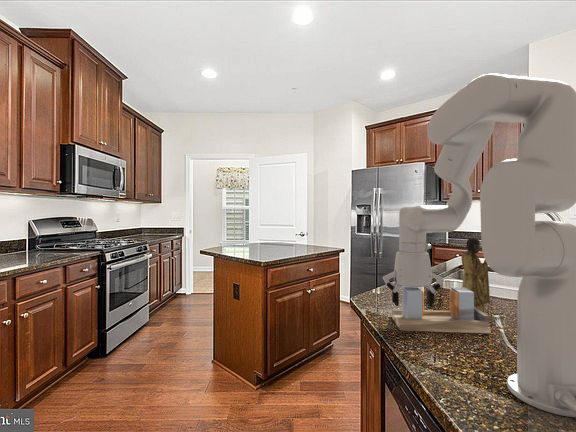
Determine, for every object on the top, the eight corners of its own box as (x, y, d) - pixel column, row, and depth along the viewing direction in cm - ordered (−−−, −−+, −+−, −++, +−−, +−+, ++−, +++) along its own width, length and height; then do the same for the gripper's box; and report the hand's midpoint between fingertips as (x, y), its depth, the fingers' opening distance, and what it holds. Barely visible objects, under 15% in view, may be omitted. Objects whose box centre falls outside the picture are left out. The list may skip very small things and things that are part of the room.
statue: (493, 318, 100) (493, 238, 100) (460, 313, 105) (460, 237, 105) (493, 311, 108) (493, 236, 108) (462, 307, 113) (462, 235, 113)
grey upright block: (424, 322, 93) (424, 291, 93) (407, 321, 93) (407, 290, 93) (418, 315, 99) (418, 286, 99) (402, 315, 99) (402, 286, 99)
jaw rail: (490, 333, 88) (490, 295, 88) (400, 330, 91) (400, 293, 91) (470, 319, 100) (470, 285, 100) (391, 316, 103) (391, 284, 103)
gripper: (438, 246, 99) (438, 302, 99) (380, 246, 101) (381, 301, 101) (447, 249, 91) (448, 309, 91) (385, 249, 93) (385, 308, 93)
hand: (412, 305), depth 96 cm, fingers open, 9 cm apart
